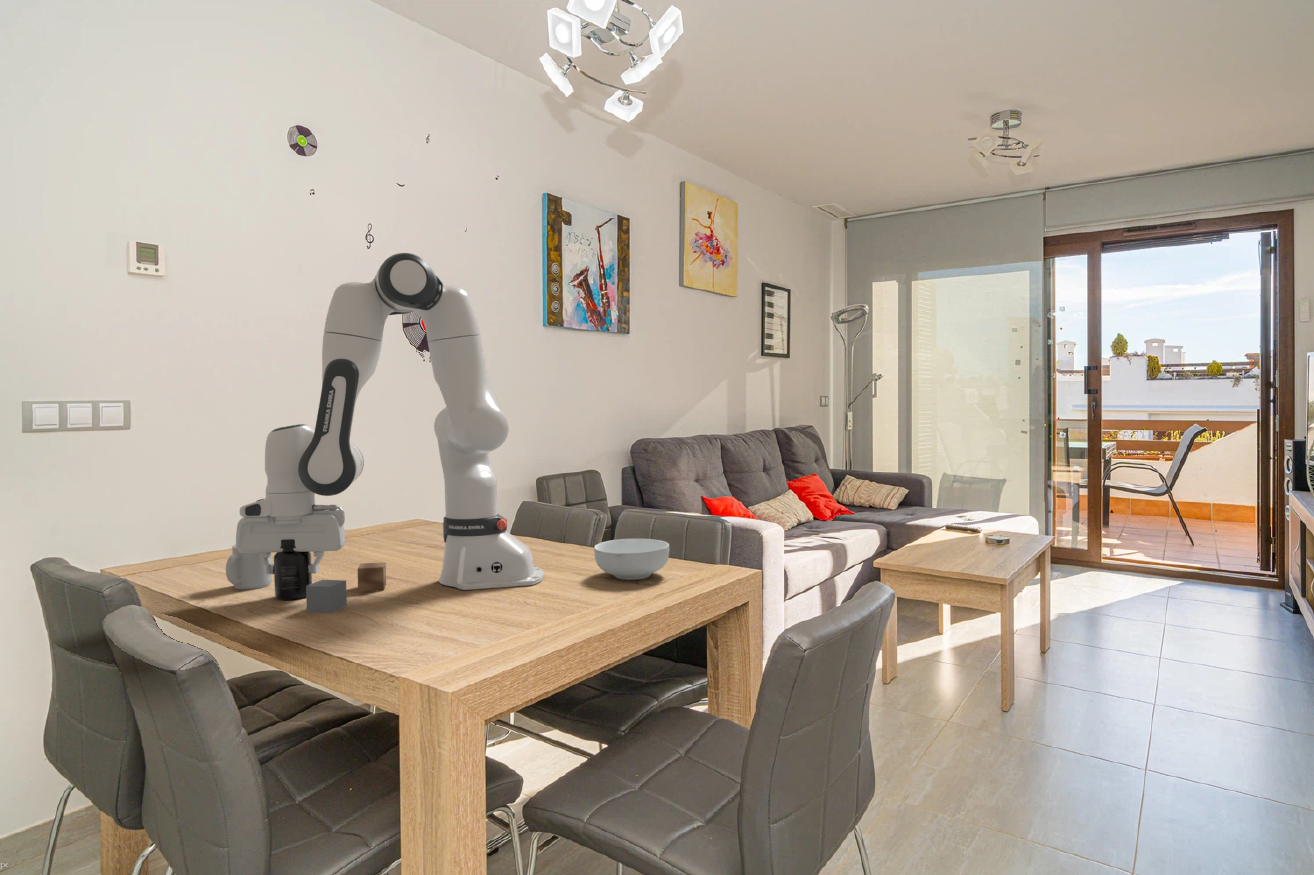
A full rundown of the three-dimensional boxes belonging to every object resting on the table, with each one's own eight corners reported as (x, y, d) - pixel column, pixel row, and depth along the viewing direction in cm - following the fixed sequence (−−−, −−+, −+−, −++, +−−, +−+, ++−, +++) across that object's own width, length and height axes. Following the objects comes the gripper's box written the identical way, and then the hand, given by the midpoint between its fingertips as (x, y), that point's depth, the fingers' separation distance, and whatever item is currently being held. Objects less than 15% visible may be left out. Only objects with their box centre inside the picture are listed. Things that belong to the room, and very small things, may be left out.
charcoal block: (346, 606, 142) (346, 580, 142) (330, 613, 137) (330, 586, 137) (323, 605, 143) (322, 579, 143) (306, 612, 138) (306, 585, 138)
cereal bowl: (626, 564, 177) (625, 535, 176) (684, 573, 167) (683, 542, 167) (578, 578, 163) (578, 546, 163) (638, 589, 153) (638, 555, 153)
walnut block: (386, 585, 158) (385, 562, 158) (383, 590, 154) (383, 567, 153) (361, 586, 157) (360, 563, 157) (358, 592, 152) (357, 568, 152)
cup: (279, 582, 161) (278, 542, 160) (241, 594, 151) (240, 551, 151) (253, 580, 163) (251, 540, 162) (214, 592, 153) (212, 549, 153)
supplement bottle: (320, 593, 151) (318, 535, 151) (293, 602, 145) (291, 541, 144) (293, 591, 154) (292, 533, 153) (266, 599, 147) (264, 539, 146)
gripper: (349, 502, 152) (351, 568, 153) (245, 504, 151) (248, 571, 151) (338, 506, 146) (340, 575, 147) (230, 508, 144) (233, 578, 145)
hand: (292, 573), depth 149 cm, fingers closed on supplement bottle, 7 cm apart
